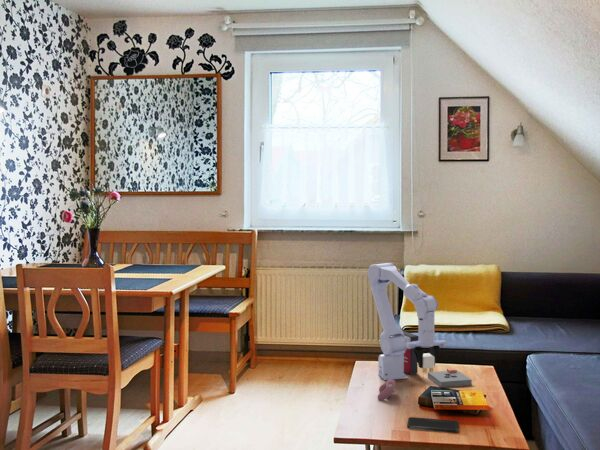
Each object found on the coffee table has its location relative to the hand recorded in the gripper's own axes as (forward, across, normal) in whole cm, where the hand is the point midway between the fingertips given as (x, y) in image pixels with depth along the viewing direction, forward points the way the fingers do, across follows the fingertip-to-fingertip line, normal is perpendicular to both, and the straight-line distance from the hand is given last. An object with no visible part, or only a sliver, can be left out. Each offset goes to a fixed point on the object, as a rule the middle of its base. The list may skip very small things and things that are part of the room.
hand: (426, 366), depth 210 cm
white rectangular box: (+2, 0, 0) cm, 2 cm away
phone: (+8, -12, -34) cm, 37 cm away
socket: (+8, +11, +5) cm, 14 cm away
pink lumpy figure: (+8, -17, -6) cm, 20 cm away
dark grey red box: (+8, 0, +21) cm, 22 cm away
